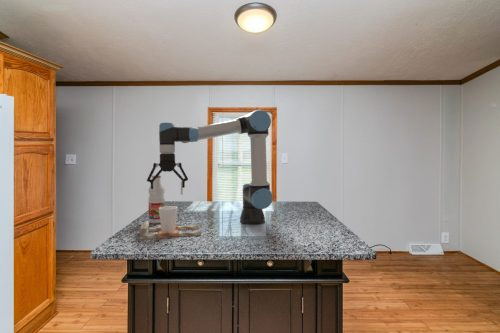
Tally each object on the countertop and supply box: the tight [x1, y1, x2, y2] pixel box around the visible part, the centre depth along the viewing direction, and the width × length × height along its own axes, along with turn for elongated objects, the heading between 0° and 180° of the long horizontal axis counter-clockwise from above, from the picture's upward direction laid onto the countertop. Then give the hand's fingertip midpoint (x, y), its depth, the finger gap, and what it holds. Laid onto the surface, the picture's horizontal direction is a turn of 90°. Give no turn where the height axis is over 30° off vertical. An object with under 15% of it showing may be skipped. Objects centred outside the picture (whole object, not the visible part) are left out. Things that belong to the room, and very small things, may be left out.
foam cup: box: [159, 205, 179, 233], centre depth 152 cm, size 10×9×13 cm
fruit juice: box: [148, 175, 166, 224], centre depth 178 cm, size 9×9×28 cm
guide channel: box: [139, 221, 202, 240], centre depth 152 cm, size 29×15×5 cm, turn 105°
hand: (168, 194), depth 151 cm, fingers open, 13 cm apart
